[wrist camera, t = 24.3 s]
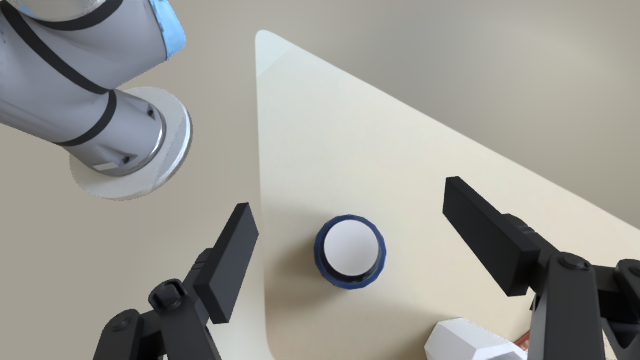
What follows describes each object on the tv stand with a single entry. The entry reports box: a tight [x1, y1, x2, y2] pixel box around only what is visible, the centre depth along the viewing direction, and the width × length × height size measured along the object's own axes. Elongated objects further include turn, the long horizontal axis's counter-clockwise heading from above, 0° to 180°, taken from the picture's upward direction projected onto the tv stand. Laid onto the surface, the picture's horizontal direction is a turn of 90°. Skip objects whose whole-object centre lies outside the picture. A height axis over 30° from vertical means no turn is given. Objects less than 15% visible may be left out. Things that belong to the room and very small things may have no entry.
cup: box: [314, 214, 386, 290], centre depth 32 cm, size 8×8×6 cm
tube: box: [324, 220, 378, 276], centre depth 27 cm, size 4×4×15 cm
